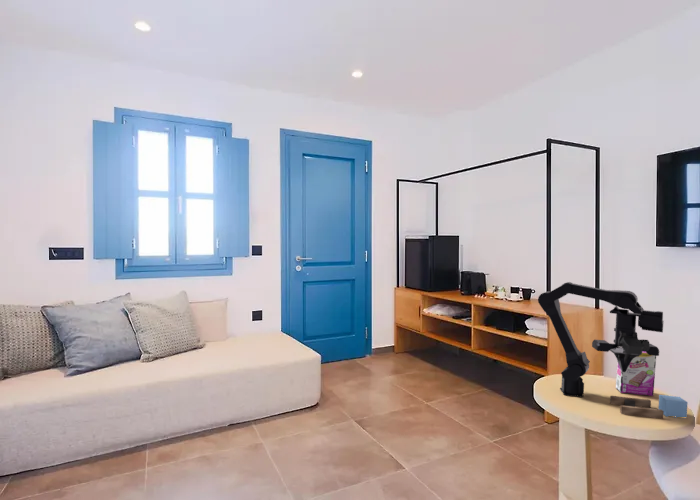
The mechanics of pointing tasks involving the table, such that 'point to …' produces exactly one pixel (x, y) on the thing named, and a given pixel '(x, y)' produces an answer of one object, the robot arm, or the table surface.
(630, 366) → the candy bar box
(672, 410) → the block
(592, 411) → the table surface
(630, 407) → the brown rails
